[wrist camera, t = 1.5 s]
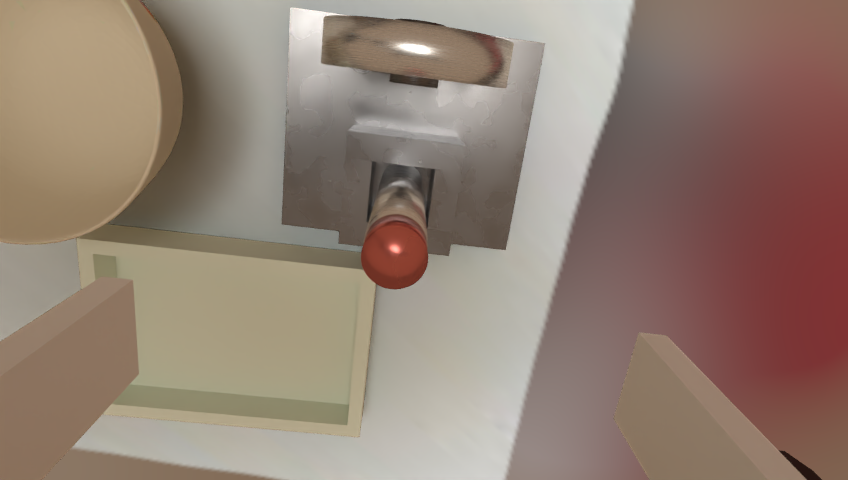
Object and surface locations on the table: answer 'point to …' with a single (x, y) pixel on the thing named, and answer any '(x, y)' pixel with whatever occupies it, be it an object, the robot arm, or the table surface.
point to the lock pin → (397, 230)
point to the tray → (240, 329)
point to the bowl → (80, 113)
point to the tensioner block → (405, 123)
